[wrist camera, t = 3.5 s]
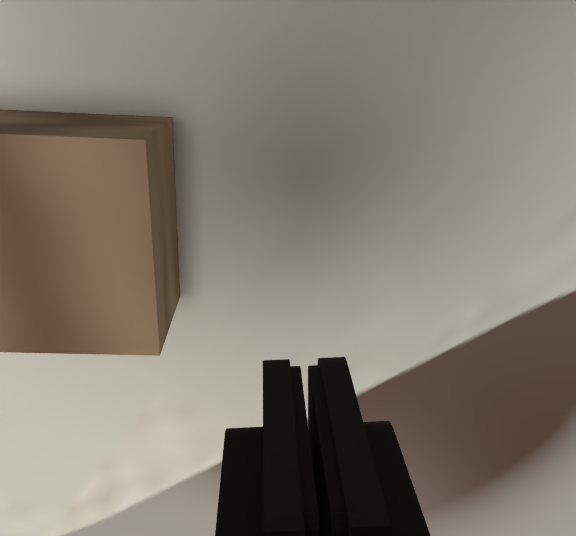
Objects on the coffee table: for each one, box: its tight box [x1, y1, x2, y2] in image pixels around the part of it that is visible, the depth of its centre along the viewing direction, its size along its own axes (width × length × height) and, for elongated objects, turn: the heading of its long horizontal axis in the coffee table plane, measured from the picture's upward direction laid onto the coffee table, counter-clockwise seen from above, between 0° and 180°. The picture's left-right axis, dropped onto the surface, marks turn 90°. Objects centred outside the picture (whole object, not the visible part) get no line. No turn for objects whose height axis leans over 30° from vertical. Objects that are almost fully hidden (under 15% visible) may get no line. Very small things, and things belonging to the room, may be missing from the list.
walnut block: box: [0, 110, 180, 355], centre depth 20 cm, size 8×8×5 cm
